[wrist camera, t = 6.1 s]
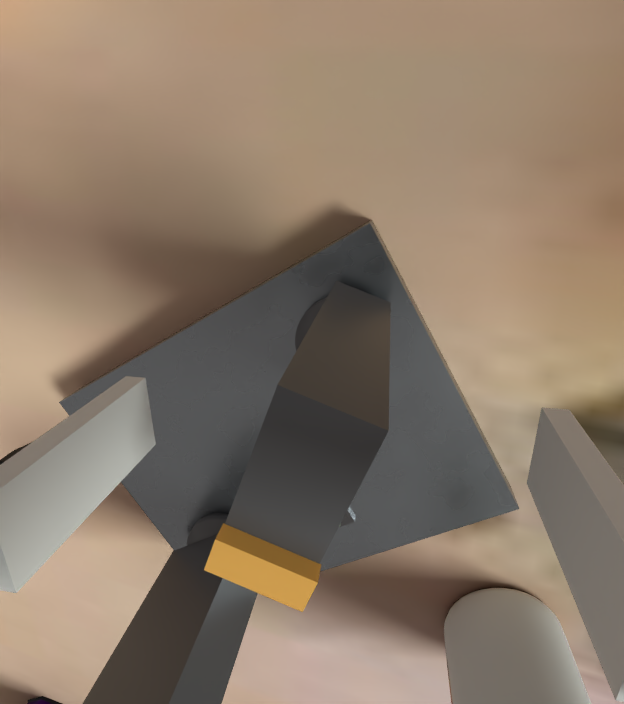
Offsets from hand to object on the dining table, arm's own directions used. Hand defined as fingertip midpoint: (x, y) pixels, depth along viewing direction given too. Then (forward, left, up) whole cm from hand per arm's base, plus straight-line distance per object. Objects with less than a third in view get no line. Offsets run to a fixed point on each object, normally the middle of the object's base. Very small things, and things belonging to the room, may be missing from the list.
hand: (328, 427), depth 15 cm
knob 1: (+14, +9, -9) cm, 19 cm away
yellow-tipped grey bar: (0, 0, -9) cm, 9 cm away
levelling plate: (+7, +4, -11) cm, 14 cm away
